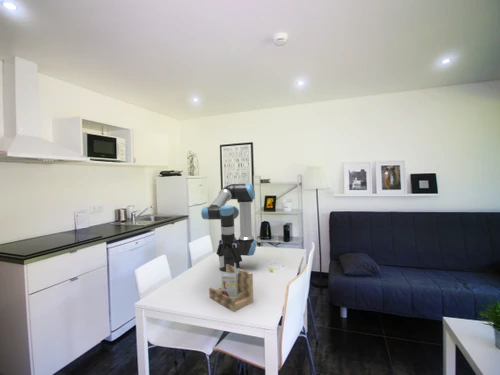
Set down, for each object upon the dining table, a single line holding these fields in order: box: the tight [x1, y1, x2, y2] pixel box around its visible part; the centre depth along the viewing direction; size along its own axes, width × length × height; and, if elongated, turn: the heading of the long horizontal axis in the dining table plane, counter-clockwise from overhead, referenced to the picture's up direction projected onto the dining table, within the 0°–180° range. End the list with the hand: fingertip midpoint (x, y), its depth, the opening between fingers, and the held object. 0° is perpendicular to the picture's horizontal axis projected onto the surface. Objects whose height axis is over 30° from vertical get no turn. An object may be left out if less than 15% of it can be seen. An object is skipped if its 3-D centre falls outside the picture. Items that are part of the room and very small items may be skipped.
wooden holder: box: [208, 264, 254, 312], centre depth 141 cm, size 22×14×16 cm, turn 43°
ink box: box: [221, 271, 238, 297], centre depth 141 cm, size 9×5×12 cm, turn 80°
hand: (229, 270), depth 140 cm, fingers open, 13 cm apart
